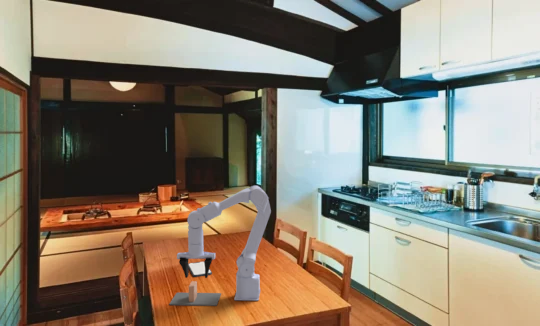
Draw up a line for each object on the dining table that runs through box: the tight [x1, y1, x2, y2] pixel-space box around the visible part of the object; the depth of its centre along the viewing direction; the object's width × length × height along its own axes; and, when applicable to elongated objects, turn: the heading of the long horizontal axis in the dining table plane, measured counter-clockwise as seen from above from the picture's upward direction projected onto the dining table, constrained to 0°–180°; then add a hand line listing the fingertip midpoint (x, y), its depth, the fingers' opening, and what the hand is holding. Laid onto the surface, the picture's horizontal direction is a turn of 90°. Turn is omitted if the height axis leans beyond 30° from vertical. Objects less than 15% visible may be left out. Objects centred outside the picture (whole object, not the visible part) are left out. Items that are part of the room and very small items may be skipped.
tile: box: [188, 280, 198, 302], centre depth 140 cm, size 2×5×6 cm, turn 178°
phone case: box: [188, 261, 213, 278], centre depth 172 cm, size 9×2×16 cm
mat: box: [169, 292, 222, 307], centre depth 141 cm, size 18×10×1 cm, turn 88°
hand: (196, 276), depth 140 cm, fingers open, 7 cm apart
